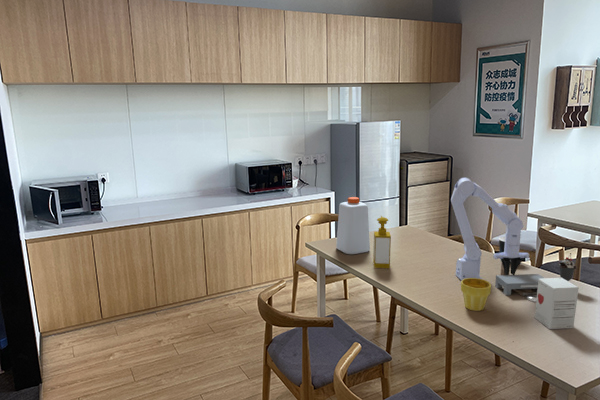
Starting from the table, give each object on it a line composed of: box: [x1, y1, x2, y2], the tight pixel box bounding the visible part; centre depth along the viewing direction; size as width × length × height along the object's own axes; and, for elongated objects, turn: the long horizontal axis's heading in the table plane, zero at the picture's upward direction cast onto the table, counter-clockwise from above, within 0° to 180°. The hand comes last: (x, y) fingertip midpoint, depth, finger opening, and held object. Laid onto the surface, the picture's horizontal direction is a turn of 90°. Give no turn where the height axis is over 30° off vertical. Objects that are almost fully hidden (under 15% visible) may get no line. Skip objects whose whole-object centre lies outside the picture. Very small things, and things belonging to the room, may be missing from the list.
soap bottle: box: [372, 215, 392, 269], centre depth 215 cm, size 7×13×24 cm, turn 174°
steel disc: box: [526, 294, 537, 303], centre depth 176 cm, size 5×5×1 cm
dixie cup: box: [498, 236, 511, 262], centre depth 218 cm, size 8×8×11 cm
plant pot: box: [460, 278, 492, 312], centre depth 168 cm, size 10×10×10 cm
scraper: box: [500, 263, 537, 298], centre depth 188 cm, size 6×22×7 cm, turn 3°
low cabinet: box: [494, 273, 545, 296], centre depth 183 cm, size 18×10×5 cm, turn 93°
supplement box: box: [534, 277, 580, 330], centre depth 155 cm, size 9×9×15 cm
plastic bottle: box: [335, 196, 371, 255], centre depth 235 cm, size 15×15×28 cm
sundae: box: [557, 252, 578, 282], centre depth 184 cm, size 7×7×15 cm
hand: (509, 274), depth 194 cm, fingers open, 2 cm apart
